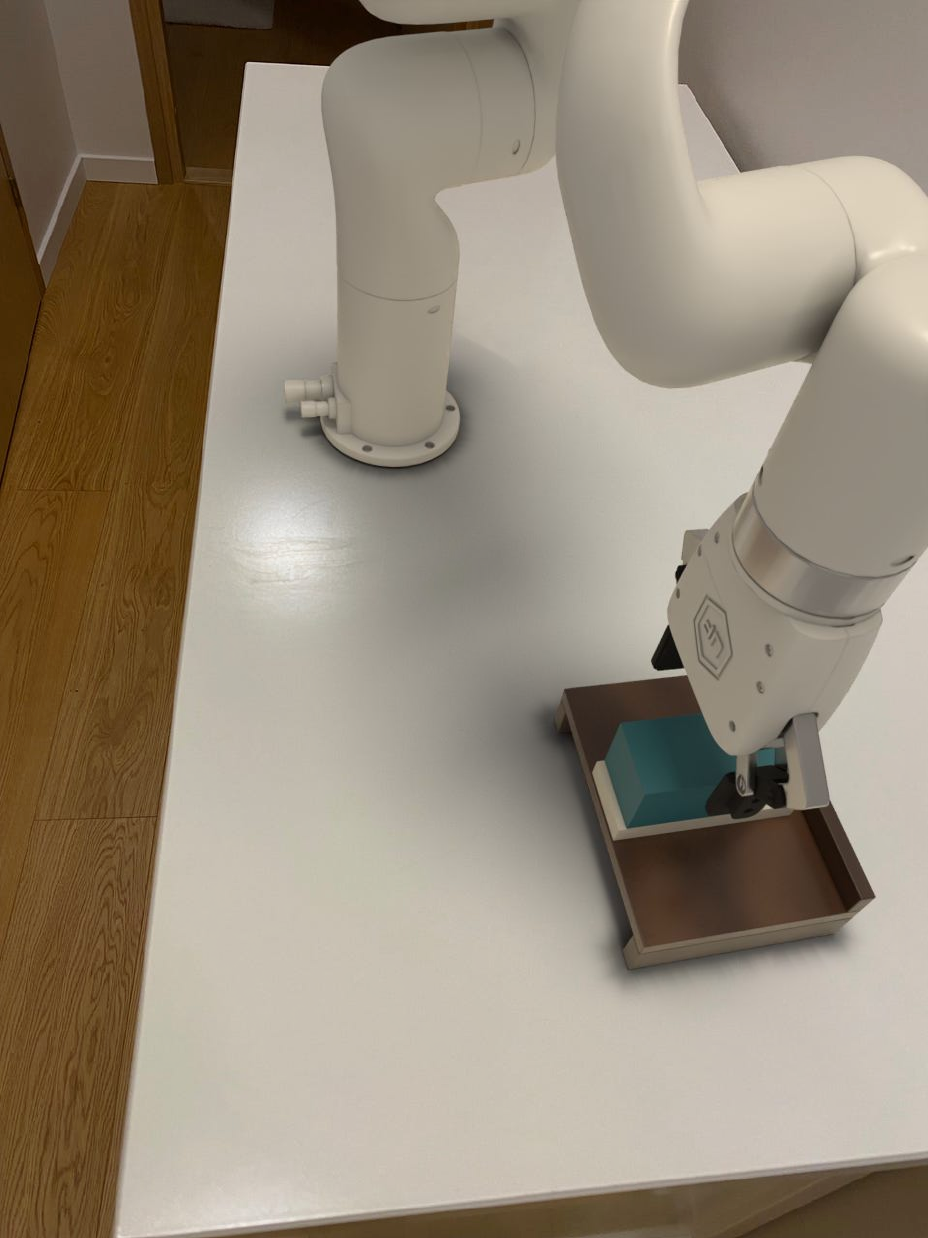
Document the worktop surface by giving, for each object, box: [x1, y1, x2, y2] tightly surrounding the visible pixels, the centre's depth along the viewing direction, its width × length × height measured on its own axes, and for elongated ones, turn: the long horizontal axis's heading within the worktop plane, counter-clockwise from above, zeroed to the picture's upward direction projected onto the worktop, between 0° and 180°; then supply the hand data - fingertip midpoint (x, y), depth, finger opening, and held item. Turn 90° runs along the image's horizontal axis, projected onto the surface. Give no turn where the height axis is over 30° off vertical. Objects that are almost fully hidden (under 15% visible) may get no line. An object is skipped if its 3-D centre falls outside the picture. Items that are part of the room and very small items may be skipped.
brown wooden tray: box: [554, 674, 877, 970], centre depth 62 cm, size 14×18×6 cm
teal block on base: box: [592, 713, 794, 841], centre depth 58 cm, size 12×5×6 cm, turn 101°
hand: (701, 732), depth 56 cm, fingers open, 9 cm apart
